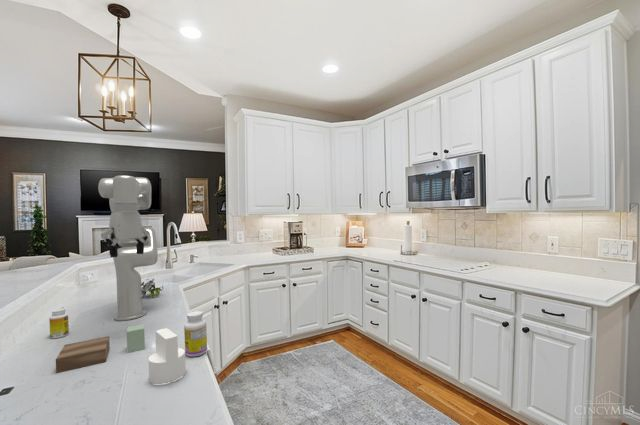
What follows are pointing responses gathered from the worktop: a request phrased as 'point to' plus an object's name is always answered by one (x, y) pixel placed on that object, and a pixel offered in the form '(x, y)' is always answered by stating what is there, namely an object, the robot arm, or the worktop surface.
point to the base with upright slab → (166, 358)
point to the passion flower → (148, 287)
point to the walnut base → (83, 354)
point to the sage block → (135, 338)
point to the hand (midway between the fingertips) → (127, 255)
